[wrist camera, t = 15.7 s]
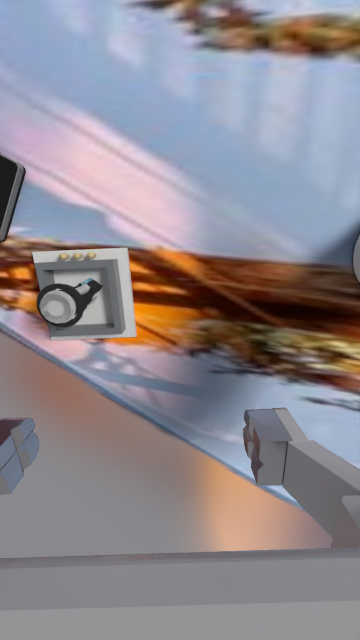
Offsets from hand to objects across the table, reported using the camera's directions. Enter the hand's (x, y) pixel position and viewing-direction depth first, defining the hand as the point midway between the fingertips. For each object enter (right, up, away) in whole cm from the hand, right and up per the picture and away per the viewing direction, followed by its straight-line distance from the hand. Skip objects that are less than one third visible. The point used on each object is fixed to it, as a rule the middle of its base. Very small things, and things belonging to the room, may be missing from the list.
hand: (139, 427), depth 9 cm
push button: (-13, +8, +27) cm, 31 cm away
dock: (-13, +8, +28) cm, 32 cm away
